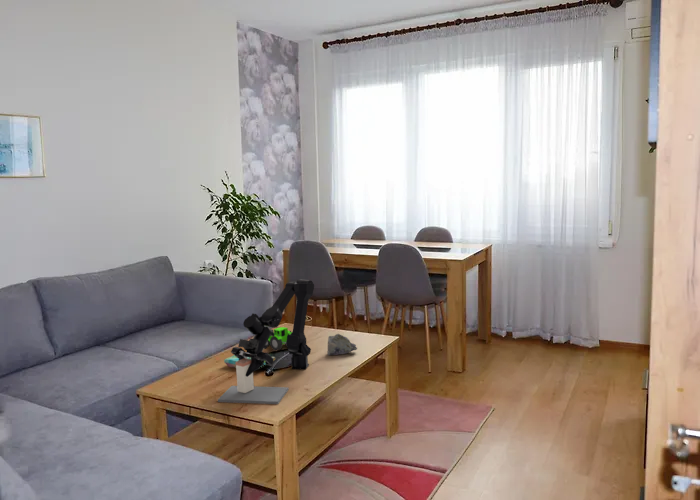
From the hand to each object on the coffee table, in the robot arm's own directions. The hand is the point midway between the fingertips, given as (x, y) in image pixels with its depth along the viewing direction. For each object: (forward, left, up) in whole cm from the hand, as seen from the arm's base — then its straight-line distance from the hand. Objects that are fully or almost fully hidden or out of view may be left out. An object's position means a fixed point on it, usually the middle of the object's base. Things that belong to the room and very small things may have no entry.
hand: (242, 375), depth 217 cm
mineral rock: (-29, -51, -8) cm, 60 cm away
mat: (-5, +1, -8) cm, 9 cm away
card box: (-1, -1, -7) cm, 7 cm away
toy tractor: (+5, -61, -8) cm, 62 cm away
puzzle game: (+9, -32, -8) cm, 35 cm away
